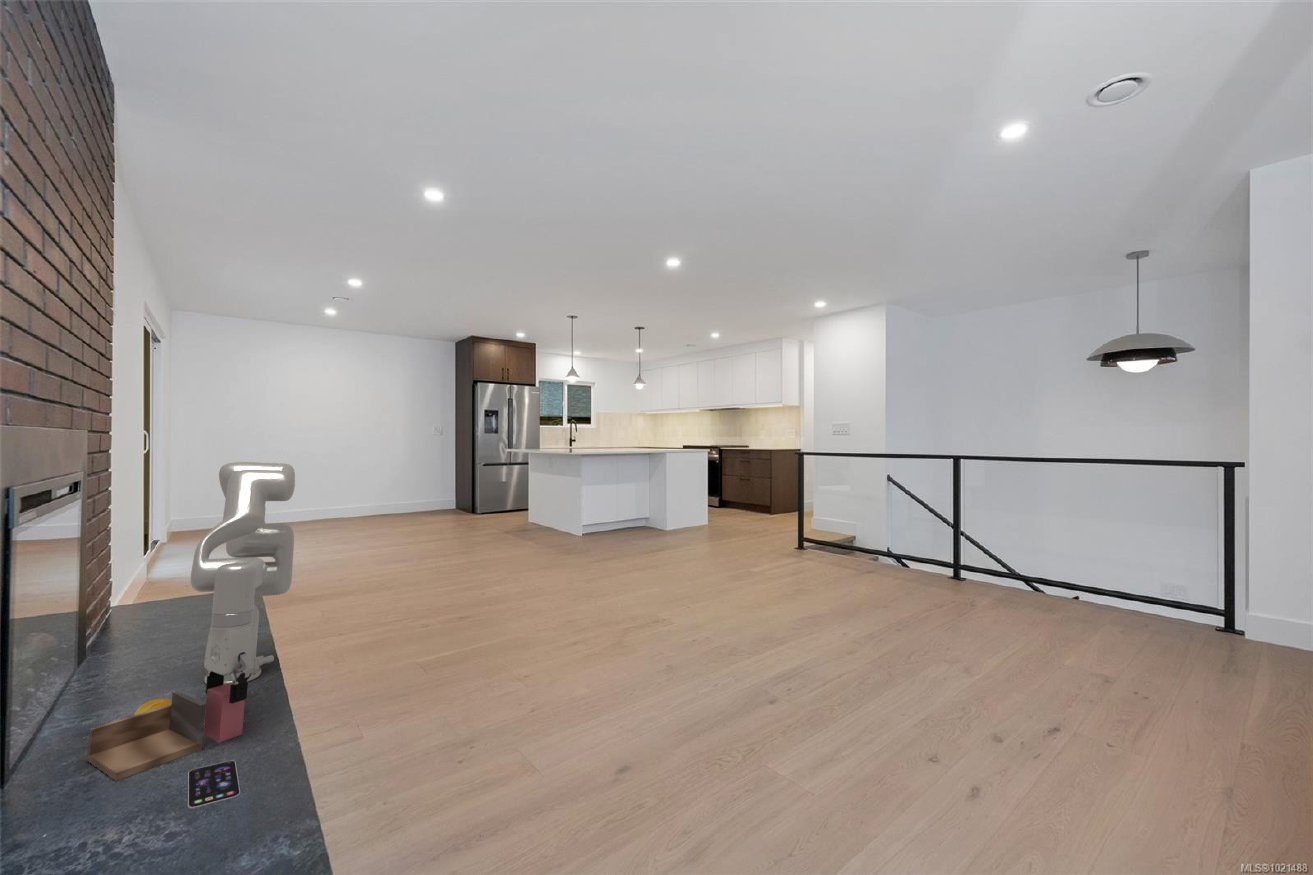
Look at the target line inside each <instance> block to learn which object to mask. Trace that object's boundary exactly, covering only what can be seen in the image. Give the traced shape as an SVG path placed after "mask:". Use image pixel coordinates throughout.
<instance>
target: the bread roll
mask: <svg viewBox="0 0 1313 875" xmlns="http://www.w3.org/2000/svg"><path fill="white" fill-rule="evenodd" d="M171 704H172V699H168V698H165V697H161V698H156V699H152V700H149V701H147V702H144V703H143V704H141V705H140V706H139V707H138V708H137V709H136V711H135V712H134V714H133V716H134V715H137V714H141V713H144V712H148V711H151V710H154V709H158V708H161V707H164V706H168V705H171Z"/></svg>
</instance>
